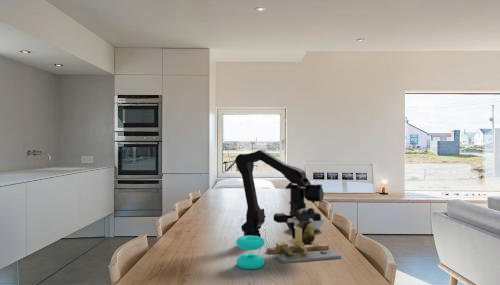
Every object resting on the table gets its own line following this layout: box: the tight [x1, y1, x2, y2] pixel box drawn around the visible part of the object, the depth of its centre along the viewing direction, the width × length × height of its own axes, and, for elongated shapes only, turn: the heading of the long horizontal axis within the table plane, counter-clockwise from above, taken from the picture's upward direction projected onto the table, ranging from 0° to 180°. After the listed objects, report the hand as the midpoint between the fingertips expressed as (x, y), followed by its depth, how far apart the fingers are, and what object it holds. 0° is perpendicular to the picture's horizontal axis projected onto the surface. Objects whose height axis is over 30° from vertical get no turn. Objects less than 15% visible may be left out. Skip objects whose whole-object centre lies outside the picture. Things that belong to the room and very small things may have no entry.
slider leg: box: [289, 226, 308, 254], centre depth 152 cm, size 4×12×8 cm, turn 15°
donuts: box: [235, 235, 265, 270], centre depth 136 cm, size 10×10×10 cm
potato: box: [297, 223, 316, 244], centre depth 171 cm, size 8×13×8 cm, turn 172°
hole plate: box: [274, 249, 342, 264], centre depth 146 cm, size 24×8×1 cm, turn 105°
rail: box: [266, 241, 330, 255], centre depth 152 cm, size 26×12×3 cm, turn 105°
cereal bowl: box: [293, 215, 325, 232], centre depth 193 cm, size 17×17×7 cm
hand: (297, 238), depth 155 cm, fingers closed on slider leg, 3 cm apart
